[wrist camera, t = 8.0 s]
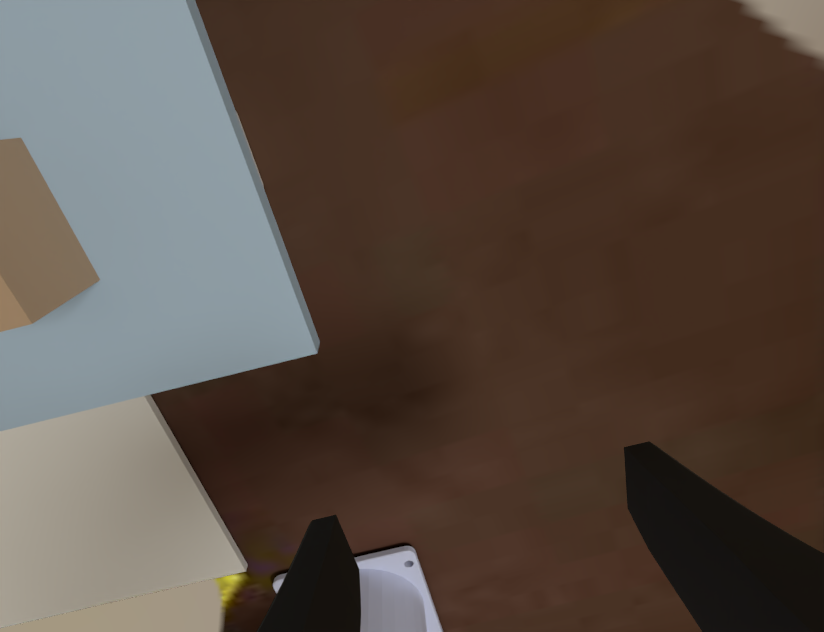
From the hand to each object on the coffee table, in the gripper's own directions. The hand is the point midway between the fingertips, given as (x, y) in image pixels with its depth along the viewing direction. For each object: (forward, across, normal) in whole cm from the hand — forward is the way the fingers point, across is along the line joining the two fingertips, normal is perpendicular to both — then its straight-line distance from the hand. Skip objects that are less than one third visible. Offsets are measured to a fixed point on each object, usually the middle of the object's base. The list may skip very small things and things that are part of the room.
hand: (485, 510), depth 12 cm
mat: (+10, +20, +4) cm, 23 cm away
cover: (+6, +10, -9) cm, 15 cm away
